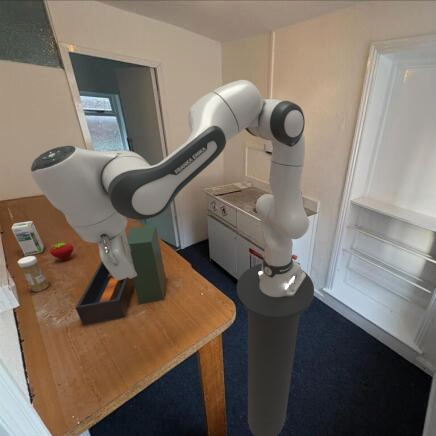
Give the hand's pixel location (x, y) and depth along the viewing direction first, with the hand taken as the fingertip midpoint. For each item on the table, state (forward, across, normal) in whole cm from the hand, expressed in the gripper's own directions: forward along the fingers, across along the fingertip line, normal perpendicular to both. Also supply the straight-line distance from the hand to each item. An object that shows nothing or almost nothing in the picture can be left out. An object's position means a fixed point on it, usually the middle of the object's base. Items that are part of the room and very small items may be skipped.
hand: (130, 262), depth 59 cm
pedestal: (+35, +19, +4) cm, 40 cm away
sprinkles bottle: (+32, +42, +38) cm, 65 cm away
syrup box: (+36, +73, +45) cm, 93 cm away
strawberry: (+36, +59, +33) cm, 77 cm away
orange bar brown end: (+32, +24, +16) cm, 43 cm away
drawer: (+34, +26, +15) cm, 45 cm away
